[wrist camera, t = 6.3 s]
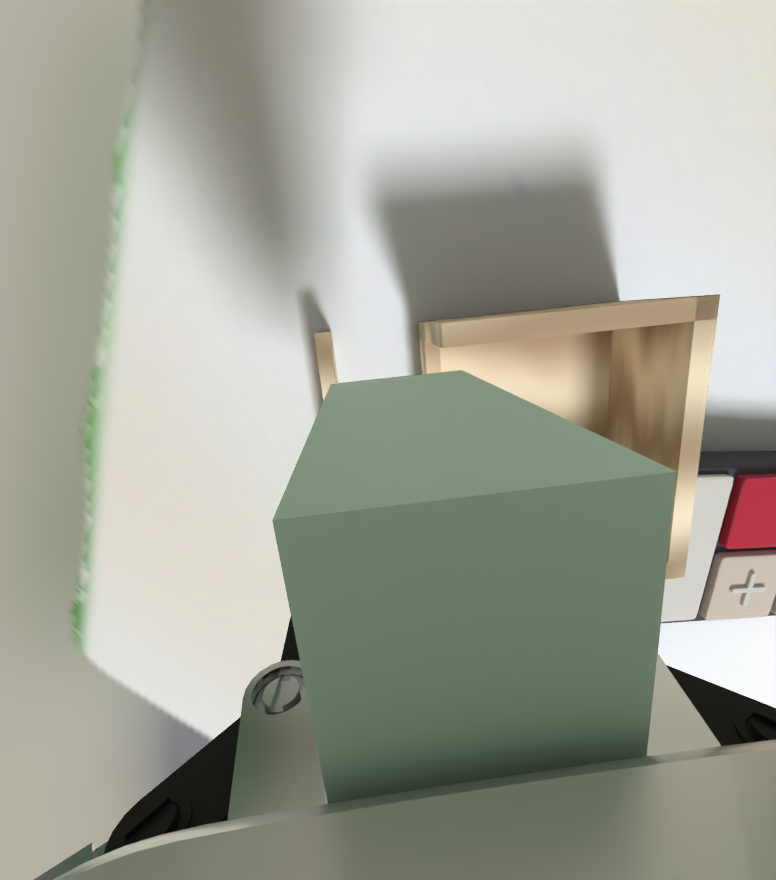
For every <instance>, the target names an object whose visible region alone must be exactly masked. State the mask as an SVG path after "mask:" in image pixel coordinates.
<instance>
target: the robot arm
mask: <svg viewBox="0 0 776 880" xmlns="http://www.w3.org/2000/svg"><path fill="white" fill-rule="evenodd" d="M34 880H776V708H773V707H771V706H768V705H766V704H763V703H761V702H758V701H756V700H753V699H751V698H748V697H746V696H743V695H740V694H738V693H735V692H733V691H730V690H728V689H725V688H723V687H720V686H718V685H715V684H713V683H710V682H707V681H705V680H702V679H700V678H697V677H695V676H692V675H690V674H687V673H685V672H682V671H680V670H677V669H674V668H672V667H669V666H667V665H665V663H664V662H663V660H662V659H661V657H660V656H659V655H658V653H657V663H656V672H655V682H654V691H653V701H652V710H651V720H650V729H649V739H648V748H647V756H644V757H637V758H630V759H623V760H616V761H609V762H602V763H595V764H588V765H581V766H574V767H567V768H560V769H554V770H547V771H540V772H533V773H526V774H520V775H513V776H506V777H499V778H493V779H486V780H479V781H473V782H466V783H459V784H453V785H446V786H439V787H433V788H426V789H419V790H413V791H406V792H400V793H394V794H387V795H381V796H374V797H368V798H361V799H355V800H349V801H342V802H336V803H329V804H328V801H327V796H326V791H325V786H324V781H323V776H322V771H321V766H320V760H319V755H318V750H317V745H316V740H315V735H314V730H313V725H312V719H311V714H310V709H309V704H308V699H307V694H306V689H305V684H304V678H303V673H302V668H301V663H300V658H299V653H298V648H297V643H296V637H295V632H294V627H293V622H292V617H291V618H290V622H289V627H288V631H287V636H286V640H285V644H284V649H283V653H282V658H281V662H278V663H275V664H273V665H270V666H269V667H267V668H265V669H264V670H262V671H260V672H259V673H258V674H257V675H256V676H255V677H254V678H253V679H252V680H251V682H250V683H249V685H248V686H247V688H246V690H245V694H244V697H243V702H242V710H241V717H240V718H239V719H238V720H236V721H235V722H234V723H233V724H232V725H230V726H229V727H228V728H227V729H226V730H224V731H223V732H222V733H221V734H219V735H218V736H217V737H216V738H215V739H213V740H212V741H211V742H210V743H209V744H207V745H206V746H205V747H204V748H203V749H201V750H200V751H199V752H198V753H196V754H195V755H194V756H193V757H192V758H191V759H189V760H188V761H187V762H186V763H184V764H183V765H182V766H181V767H180V768H178V769H177V770H176V771H175V772H173V773H172V774H171V775H170V776H169V777H168V778H166V779H165V780H164V781H163V782H161V783H160V784H159V785H158V786H157V787H155V788H154V789H153V790H152V791H151V792H149V793H148V794H147V795H146V796H144V797H143V798H142V799H141V800H140V801H138V802H137V803H136V804H135V805H134V806H133V807H132V808H131V809H130V810H129V811H128V812H127V813H126V814H125V815H124V817H123V818H122V820H121V821H120V822H119V824H118V825H117V826H116V828H115V829H114V830H113V832H112V834H111V837H110V839H109V841H108V842H106V843H104V844H103V845H101V846H100V847H98V848H97V849H95V848H94V846H93V843H91V844H89V845H87V846H86V847H84V848H83V849H81V850H80V851H78V852H76V853H75V854H73V855H72V856H70V857H69V858H67V859H65V860H64V861H62V862H61V863H59V864H58V865H56V866H55V867H53V868H51V869H50V870H48V871H47V872H45V873H43V874H42V875H40V876H39V877H37V878H35V879H34Z"/></svg>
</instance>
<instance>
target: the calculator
mask: <svg viewBox="0 0 776 880" xmlns="http://www.w3.org/2000/svg"><path fill="white" fill-rule="evenodd" d="M772 615H776V451H740V452H700V459H699V467H698V475H697V483H696V491H695V499H694V507H693V515H692V523H691V531H690V539H689V547H688V555H687V563H686V571H685V577H682V578H674V579H666V580H665V586H664V596H663V605H662V615H661V623H672V622H686V621H700V620H725V619H739V618H753V617H764V616H772Z"/></svg>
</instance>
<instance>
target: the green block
mask: <svg viewBox="0 0 776 880" xmlns="http://www.w3.org/2000/svg"><path fill="white" fill-rule="evenodd" d="M675 482H676V471H674V470H672V469H670V468H668V467H666V466H664V465H662V464H660V463H657V462H655V461H653V460H651V459H649V458H647V457H645V456H643V455H641V454H638V453H636V452H634V451H632V450H630V449H628V448H626V447H624V446H622V445H619V444H617V443H615V442H613V441H611V440H609V439H607V438H605V437H602V436H600V435H598V434H596V433H594V432H592V431H590V430H588V429H586V428H583V427H581V426H579V425H577V424H575V423H573V422H571V421H569V420H567V419H564V418H562V417H560V416H558V415H556V414H554V413H552V412H550V411H548V410H545V409H543V408H541V407H539V406H537V405H535V404H533V403H531V402H528V401H526V400H524V399H522V398H520V397H518V396H516V395H514V394H512V393H509V392H507V391H505V390H503V389H501V388H499V387H497V386H495V385H493V384H490V383H488V382H486V381H484V380H482V379H480V378H478V377H476V376H473V375H471V374H469V373H467V372H465V371H463V370H457V371H448V372H438V373H429V374H420V375H411V376H401V377H392V378H383V379H374V380H364V381H355V382H346V383H337V384H331V385H330V387H329V389H328V392H327V394H326V396H325V399H324V401H323V403H322V406H321V408H320V410H319V413H318V415H317V417H316V420H315V422H314V425H313V427H312V429H311V432H310V434H309V436H308V439H307V441H306V443H305V446H304V448H303V450H302V453H301V455H300V457H299V460H298V462H297V464H296V467H295V469H294V471H293V474H292V476H291V478H290V481H289V483H288V485H287V488H286V490H285V492H284V495H283V497H282V499H281V502H280V504H279V506H278V509H277V511H276V513H275V516H274V518H273V525H274V530H275V535H276V540H277V545H278V550H279V556H280V561H281V566H282V571H283V576H284V581H285V586H286V591H287V597H288V602H289V607H290V612H291V617H292V622H293V627H294V632H295V637H296V643H297V648H298V653H299V658H300V663H301V668H302V673H303V678H304V684H305V689H306V694H307V699H308V704H309V709H310V714H311V719H312V725H313V730H314V735H315V740H316V745H317V750H318V755H319V760H320V766H321V771H322V776H323V781H324V786H325V791H326V796H327V801H328V804H329V803H336V802H342V801H349V800H355V799H361V798H368V797H374V796H381V795H387V794H394V793H400V792H406V791H413V790H419V789H426V788H433V787H439V786H446V785H453V784H459V783H466V782H473V781H479V780H486V779H493V778H499V777H506V776H513V775H520V774H526V773H533V772H540V771H547V770H554V769H560V768H567V767H574V766H581V765H588V764H595V763H602V762H609V761H616V760H623V759H630V758H637V757H644V756H647V748H648V739H649V729H650V720H651V710H652V701H653V691H654V682H655V672H656V663H657V653H658V644H659V634H660V624H661V615H662V605H663V596H664V586H665V577H666V567H667V558H668V548H669V539H670V529H671V520H672V510H673V501H674V491H675Z"/></svg>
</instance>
